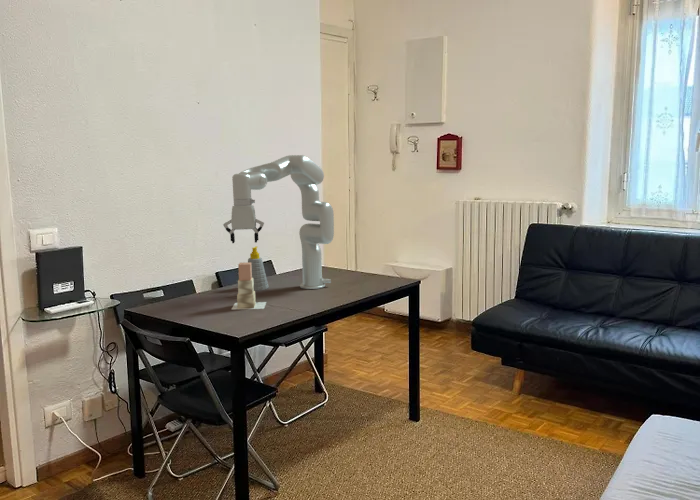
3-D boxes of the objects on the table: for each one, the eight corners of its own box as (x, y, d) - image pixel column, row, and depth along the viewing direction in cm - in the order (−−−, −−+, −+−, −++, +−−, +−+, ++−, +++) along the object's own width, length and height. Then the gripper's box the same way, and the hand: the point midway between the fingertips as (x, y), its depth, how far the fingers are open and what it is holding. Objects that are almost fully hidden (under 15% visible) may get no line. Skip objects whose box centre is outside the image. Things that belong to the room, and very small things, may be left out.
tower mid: (253, 291, 282) (253, 277, 281) (252, 294, 276) (251, 280, 275) (240, 291, 282) (239, 278, 281) (238, 294, 276) (237, 280, 275)
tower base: (255, 304, 284) (255, 290, 283) (253, 308, 277) (253, 294, 276) (239, 304, 283) (239, 291, 282) (237, 308, 276) (237, 294, 275)
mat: (266, 302, 287) (266, 302, 287) (264, 309, 275) (264, 308, 275) (235, 303, 287) (235, 302, 287) (231, 310, 275) (231, 309, 275)
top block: (252, 278, 281) (251, 262, 280) (250, 280, 276) (250, 264, 275) (240, 278, 280) (239, 262, 279) (239, 280, 276) (238, 264, 274)
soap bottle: (271, 285, 324) (269, 245, 321) (265, 290, 312) (264, 249, 309) (247, 285, 325) (245, 245, 322) (240, 290, 313) (238, 249, 310)
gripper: (263, 201, 277) (265, 240, 280) (223, 202, 276) (225, 241, 279) (262, 203, 270) (264, 243, 272) (220, 204, 269) (223, 244, 272)
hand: (244, 242), depth 276 cm, fingers open, 9 cm apart
